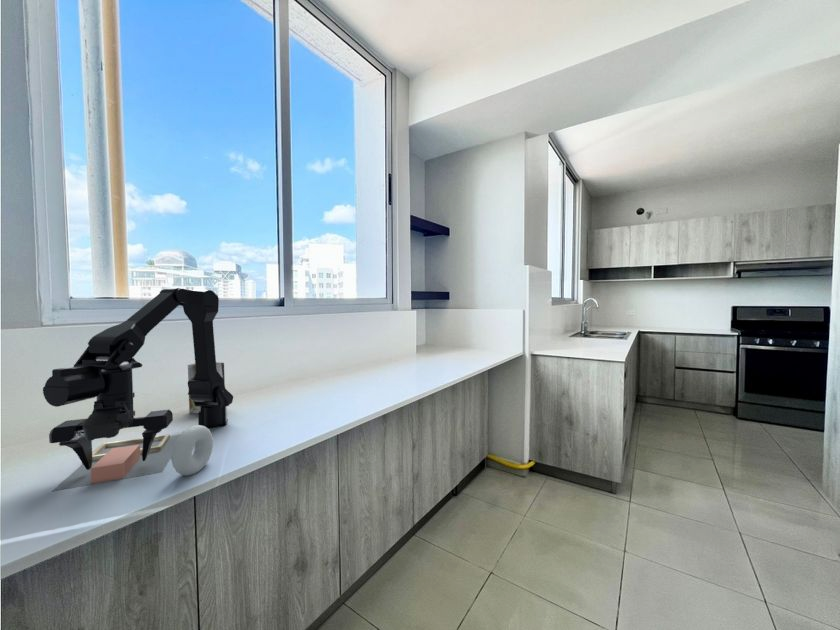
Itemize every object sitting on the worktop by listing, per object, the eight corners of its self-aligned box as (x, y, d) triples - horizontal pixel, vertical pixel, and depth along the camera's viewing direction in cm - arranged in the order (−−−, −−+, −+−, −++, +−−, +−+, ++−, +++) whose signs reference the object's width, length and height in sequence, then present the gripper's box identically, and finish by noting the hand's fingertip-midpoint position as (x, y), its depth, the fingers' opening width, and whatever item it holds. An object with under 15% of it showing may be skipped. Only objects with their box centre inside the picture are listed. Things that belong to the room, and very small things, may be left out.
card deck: (140, 457, 77) (140, 444, 77) (123, 477, 68) (123, 463, 68) (112, 461, 75) (111, 448, 75) (91, 483, 66) (90, 468, 66)
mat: (186, 435, 91) (186, 433, 91) (162, 474, 70) (162, 472, 70) (105, 446, 84) (104, 444, 84) (51, 493, 63) (51, 491, 63)
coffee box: (226, 409, 114) (225, 362, 113) (211, 415, 108) (209, 365, 107) (204, 407, 116) (203, 361, 115) (187, 413, 110) (186, 364, 109)
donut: (202, 461, 76) (201, 418, 76) (217, 461, 76) (216, 418, 75) (167, 485, 66) (166, 435, 66) (184, 485, 66) (183, 435, 65)
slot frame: (170, 437, 88) (170, 434, 88) (160, 450, 80) (160, 446, 80) (103, 447, 82) (102, 443, 82) (85, 462, 75) (85, 457, 75)
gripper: (29, 409, 60) (32, 494, 60) (158, 396, 67) (160, 472, 68) (63, 393, 70) (66, 467, 70) (172, 384, 78) (174, 450, 78)
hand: (117, 464), depth 71 cm, fingers open, 9 cm apart
